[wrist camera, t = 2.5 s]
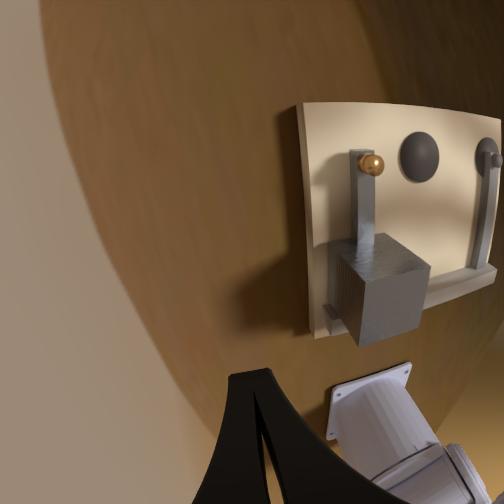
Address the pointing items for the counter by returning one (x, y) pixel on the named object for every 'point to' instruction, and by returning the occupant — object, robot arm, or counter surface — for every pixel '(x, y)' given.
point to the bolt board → (402, 192)
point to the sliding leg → (373, 266)
